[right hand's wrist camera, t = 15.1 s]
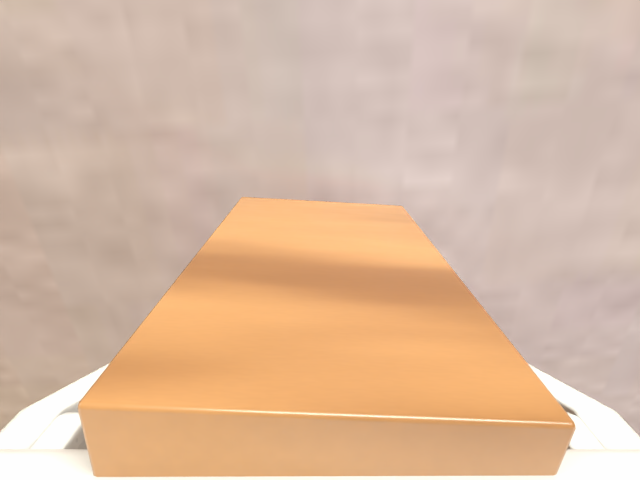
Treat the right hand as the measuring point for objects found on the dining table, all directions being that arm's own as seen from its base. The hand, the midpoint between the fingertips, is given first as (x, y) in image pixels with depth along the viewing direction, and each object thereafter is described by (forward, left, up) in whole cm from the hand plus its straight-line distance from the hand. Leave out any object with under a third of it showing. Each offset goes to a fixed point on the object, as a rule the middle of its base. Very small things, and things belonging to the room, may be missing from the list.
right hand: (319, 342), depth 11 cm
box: (+3, +11, -5) cm, 12 cm away
